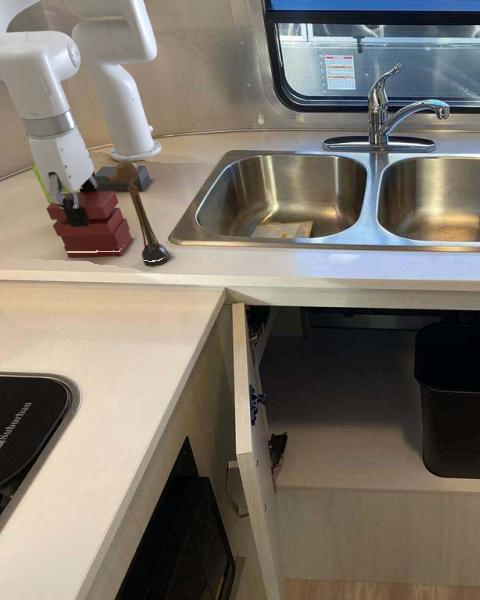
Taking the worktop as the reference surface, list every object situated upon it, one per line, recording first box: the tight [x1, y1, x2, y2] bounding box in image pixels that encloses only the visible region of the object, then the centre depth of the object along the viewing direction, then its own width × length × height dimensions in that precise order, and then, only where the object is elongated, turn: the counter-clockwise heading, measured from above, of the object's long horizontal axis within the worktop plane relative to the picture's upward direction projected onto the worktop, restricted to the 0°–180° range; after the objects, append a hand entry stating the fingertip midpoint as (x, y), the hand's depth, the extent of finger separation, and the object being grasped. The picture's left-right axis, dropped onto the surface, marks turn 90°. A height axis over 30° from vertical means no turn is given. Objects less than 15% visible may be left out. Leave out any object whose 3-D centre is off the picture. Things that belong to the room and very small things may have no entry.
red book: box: [45, 191, 119, 221], centre depth 103 cm, size 10×6×2 cm, turn 92°
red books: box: [52, 207, 133, 258], centre depth 106 cm, size 10×6×7 cm, turn 92°
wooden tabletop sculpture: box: [106, 160, 171, 268], centre depth 99 cm, size 6×5×20 cm
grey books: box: [95, 165, 151, 193], centre depth 128 cm, size 10×5×4 cm, turn 92°
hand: (87, 215), depth 104 cm, fingers closed on red book, 6 cm apart
